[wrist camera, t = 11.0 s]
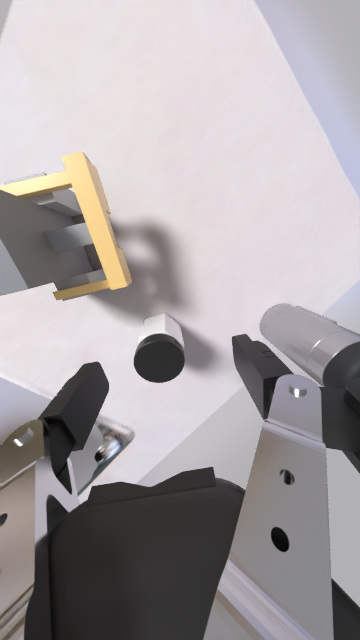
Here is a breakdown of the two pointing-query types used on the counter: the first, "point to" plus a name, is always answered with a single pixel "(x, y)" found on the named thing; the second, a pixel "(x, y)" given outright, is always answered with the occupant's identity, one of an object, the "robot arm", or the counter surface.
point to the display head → (43, 242)
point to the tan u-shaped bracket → (95, 215)
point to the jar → (160, 349)
